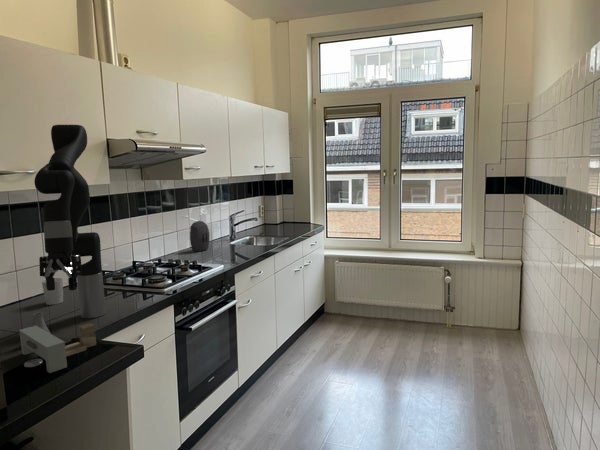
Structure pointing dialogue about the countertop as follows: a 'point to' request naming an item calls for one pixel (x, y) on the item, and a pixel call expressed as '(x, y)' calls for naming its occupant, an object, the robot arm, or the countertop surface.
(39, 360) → the disc
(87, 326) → the brown block
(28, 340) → the low white stool
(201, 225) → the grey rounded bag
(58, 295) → the white cup
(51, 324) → the countertop surface
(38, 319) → the flask
